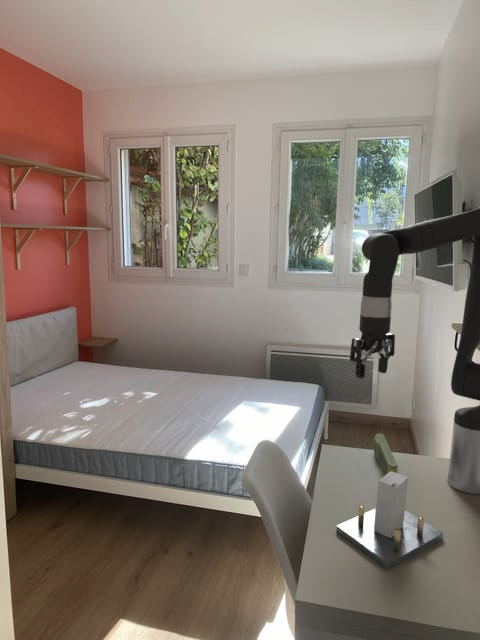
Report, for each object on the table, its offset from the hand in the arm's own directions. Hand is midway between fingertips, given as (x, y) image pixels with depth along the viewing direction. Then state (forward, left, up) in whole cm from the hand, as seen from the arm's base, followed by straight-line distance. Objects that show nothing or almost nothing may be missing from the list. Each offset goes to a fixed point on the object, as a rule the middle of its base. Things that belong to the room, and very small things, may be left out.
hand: (371, 375), depth 117 cm
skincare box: (+14, +19, -28) cm, 37 cm away
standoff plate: (+14, +20, -29) cm, 38 cm away
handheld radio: (-8, +1, -30) cm, 31 cm away
